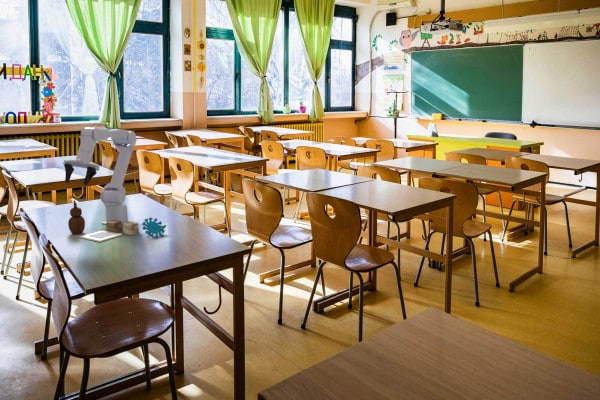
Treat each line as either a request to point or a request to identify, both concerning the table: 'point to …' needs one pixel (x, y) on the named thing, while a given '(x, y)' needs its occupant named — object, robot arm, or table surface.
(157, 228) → the teal virus model
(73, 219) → the brown gourd
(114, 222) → the walnut block
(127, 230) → the birch block
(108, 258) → the table surface
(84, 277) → the table surface
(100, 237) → the board
